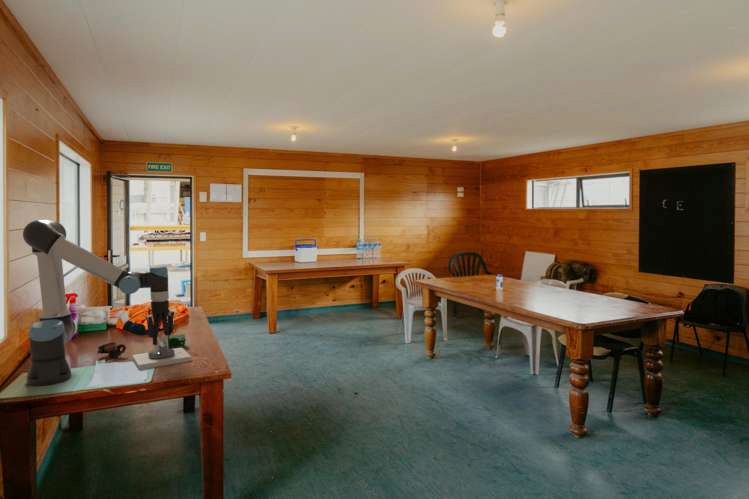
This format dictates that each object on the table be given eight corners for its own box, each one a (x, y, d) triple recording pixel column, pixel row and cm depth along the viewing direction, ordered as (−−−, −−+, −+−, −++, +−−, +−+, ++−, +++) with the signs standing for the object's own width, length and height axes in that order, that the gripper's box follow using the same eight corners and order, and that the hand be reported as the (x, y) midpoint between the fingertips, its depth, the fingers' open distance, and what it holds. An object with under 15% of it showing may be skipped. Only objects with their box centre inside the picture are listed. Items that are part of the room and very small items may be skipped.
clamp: (166, 358, 240) (158, 343, 236) (165, 352, 245) (157, 338, 241) (189, 346, 244) (182, 332, 240) (188, 341, 249) (180, 327, 245)
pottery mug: (98, 363, 218) (93, 346, 220) (103, 367, 227) (98, 350, 229) (126, 353, 223) (122, 337, 225) (130, 357, 231) (126, 341, 233)
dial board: (138, 369, 208) (138, 364, 208) (132, 359, 223) (132, 354, 223) (191, 360, 221) (191, 356, 221) (182, 351, 236) (181, 347, 235)
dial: (177, 355, 221) (177, 343, 220) (151, 360, 214) (151, 347, 214) (170, 350, 230) (170, 338, 229) (145, 354, 223) (145, 342, 222)
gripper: (170, 296, 229) (172, 345, 231) (137, 302, 214) (139, 353, 216) (180, 298, 225) (182, 347, 227) (148, 303, 211) (149, 356, 212)
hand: (161, 350), depth 222 cm, fingers closed on dial, 4 cm apart
